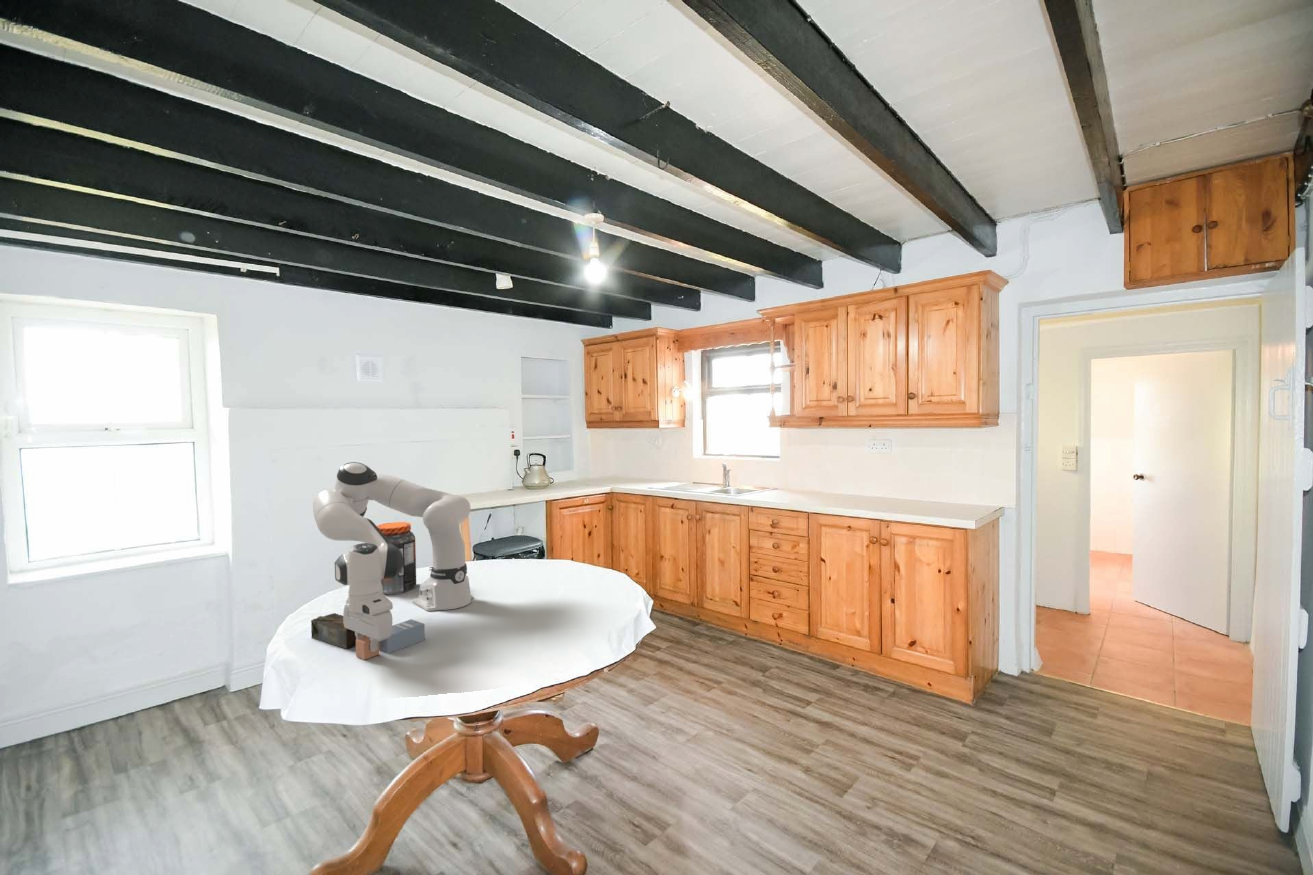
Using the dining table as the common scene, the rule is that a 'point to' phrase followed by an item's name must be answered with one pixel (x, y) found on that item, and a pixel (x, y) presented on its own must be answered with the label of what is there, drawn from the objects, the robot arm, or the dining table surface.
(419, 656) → the dining table surface
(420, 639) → the double-striped slate block
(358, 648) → the stub
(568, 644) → the dining table surface
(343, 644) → the beverage carton
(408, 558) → the supplement tub
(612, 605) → the dining table surface
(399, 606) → the dining table surface
